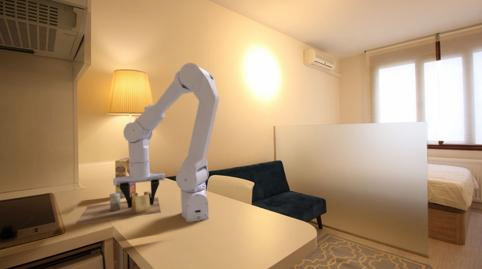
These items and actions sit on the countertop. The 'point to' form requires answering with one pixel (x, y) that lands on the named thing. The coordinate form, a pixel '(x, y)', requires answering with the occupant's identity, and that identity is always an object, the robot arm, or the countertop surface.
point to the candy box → (123, 175)
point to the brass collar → (140, 202)
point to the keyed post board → (113, 211)
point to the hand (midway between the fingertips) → (141, 205)
